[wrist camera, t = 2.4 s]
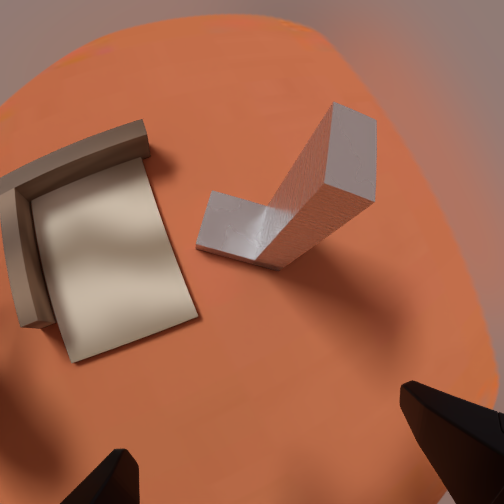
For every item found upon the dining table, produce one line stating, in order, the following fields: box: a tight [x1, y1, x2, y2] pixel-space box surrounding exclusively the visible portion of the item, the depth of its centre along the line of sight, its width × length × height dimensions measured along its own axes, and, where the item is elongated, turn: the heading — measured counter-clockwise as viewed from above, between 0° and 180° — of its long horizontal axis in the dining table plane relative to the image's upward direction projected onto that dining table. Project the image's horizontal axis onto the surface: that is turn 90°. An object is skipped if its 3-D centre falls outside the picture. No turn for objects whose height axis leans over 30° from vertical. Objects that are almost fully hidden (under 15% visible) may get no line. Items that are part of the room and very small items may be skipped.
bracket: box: [195, 102, 377, 271], centre depth 16 cm, size 4×6×12 cm, turn 77°
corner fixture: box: [0, 119, 198, 363], centre depth 18 cm, size 14×12×3 cm
